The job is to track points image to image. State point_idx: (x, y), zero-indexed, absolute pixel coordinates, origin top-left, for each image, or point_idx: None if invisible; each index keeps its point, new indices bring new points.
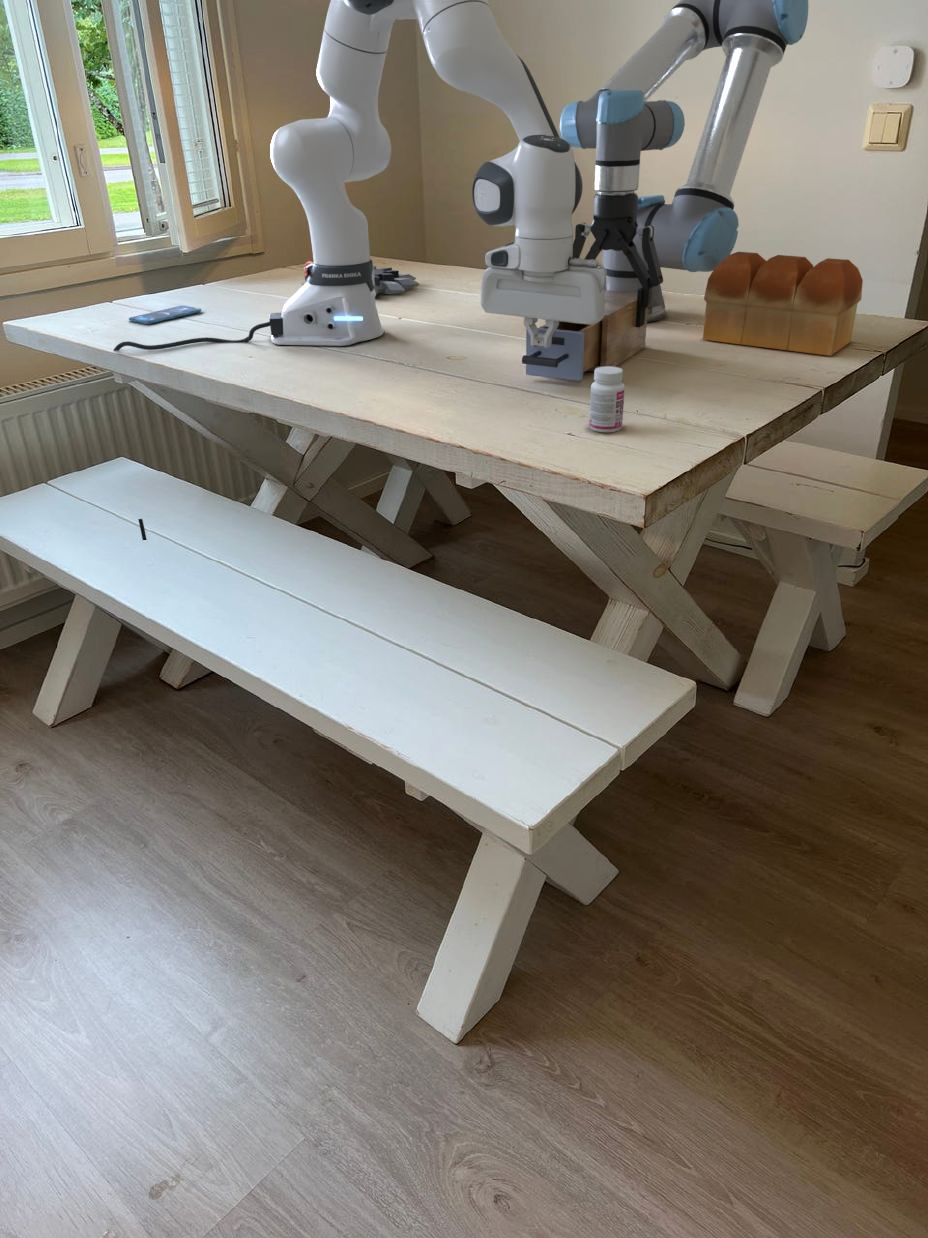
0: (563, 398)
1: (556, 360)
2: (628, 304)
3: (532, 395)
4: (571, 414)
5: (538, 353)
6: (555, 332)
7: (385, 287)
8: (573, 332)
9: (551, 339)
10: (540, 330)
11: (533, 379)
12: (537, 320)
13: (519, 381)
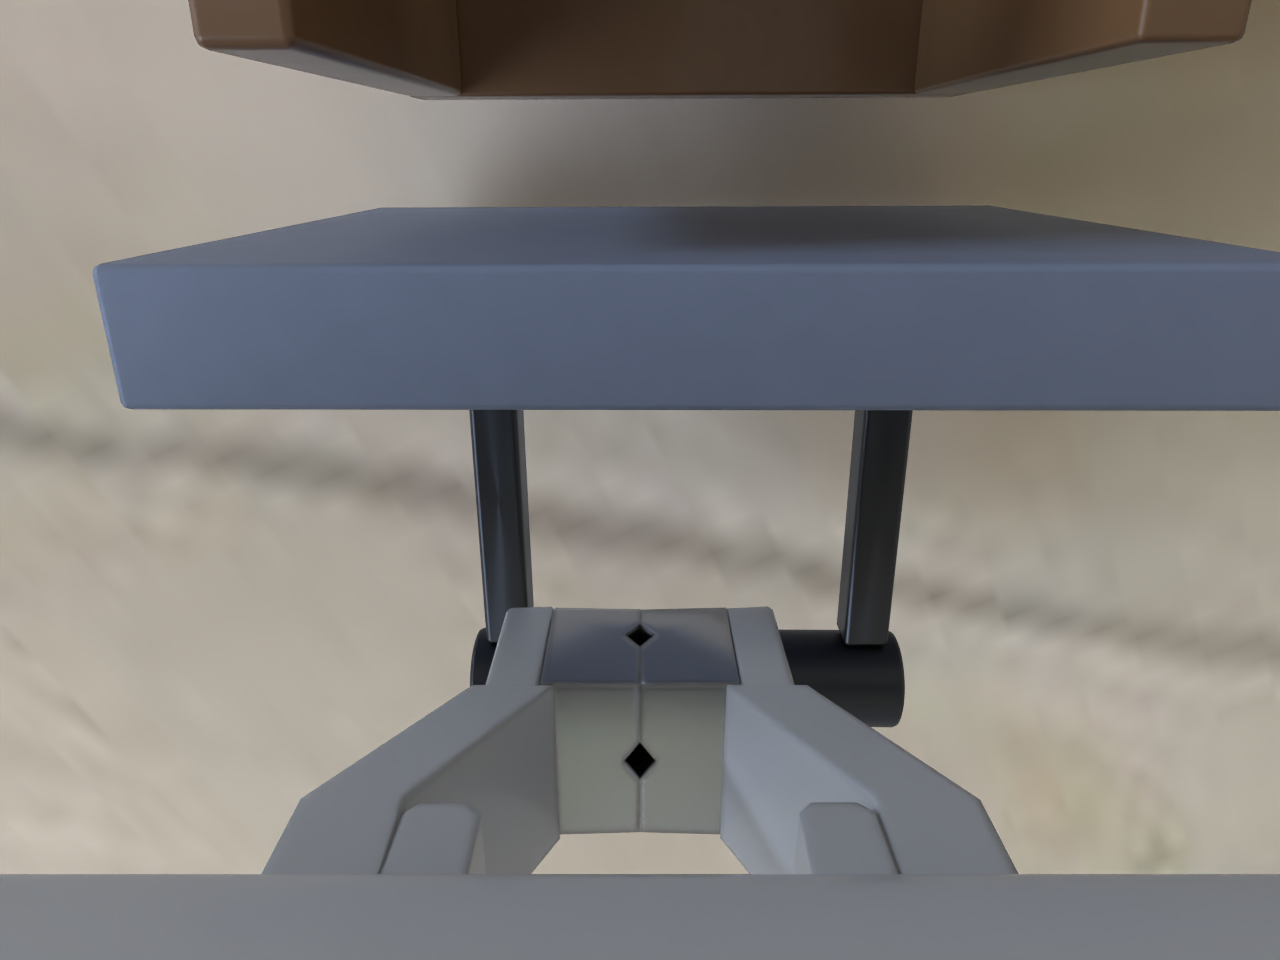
0: (908, 577)
1: (898, 709)
2: None
3: (650, 599)
4: (1070, 850)
5: (519, 412)
6: (746, 409)
7: None
8: (1124, 383)
9: (783, 651)
10: (427, 402)
11: (427, 164)
12: (481, 844)
13: None
